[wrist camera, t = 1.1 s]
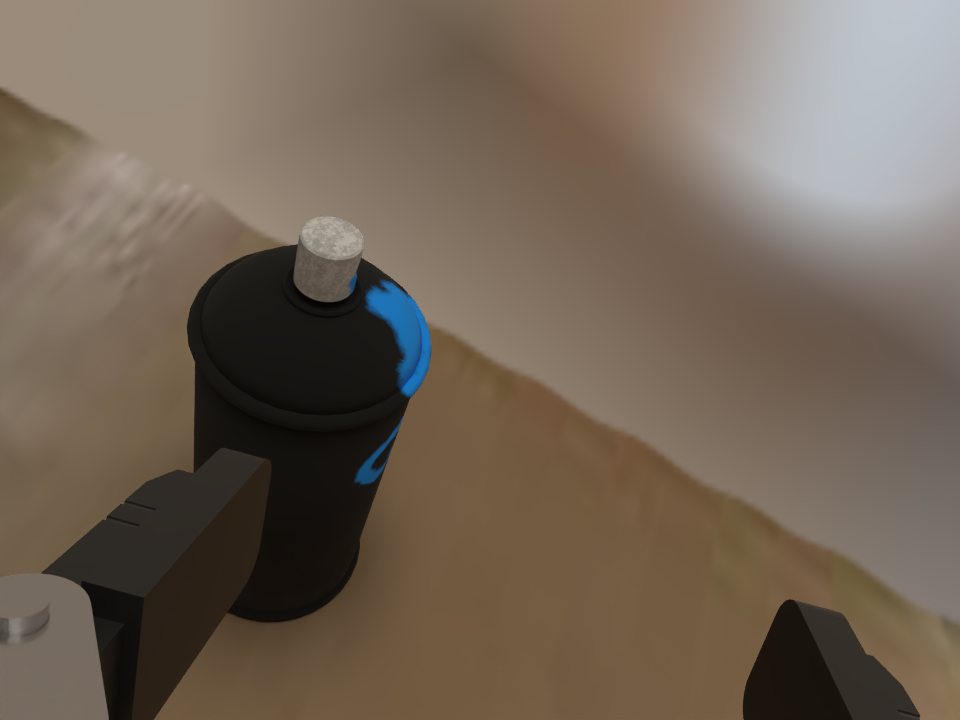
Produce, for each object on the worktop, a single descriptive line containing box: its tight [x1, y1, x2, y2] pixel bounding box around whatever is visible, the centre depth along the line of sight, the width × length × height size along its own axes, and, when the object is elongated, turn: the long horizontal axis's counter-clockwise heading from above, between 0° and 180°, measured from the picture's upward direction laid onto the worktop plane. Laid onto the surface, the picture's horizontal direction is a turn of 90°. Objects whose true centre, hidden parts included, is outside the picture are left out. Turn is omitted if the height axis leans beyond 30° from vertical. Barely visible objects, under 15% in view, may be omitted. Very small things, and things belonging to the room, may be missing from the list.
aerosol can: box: [187, 216, 431, 621], centre depth 30 cm, size 8×8×20 cm
